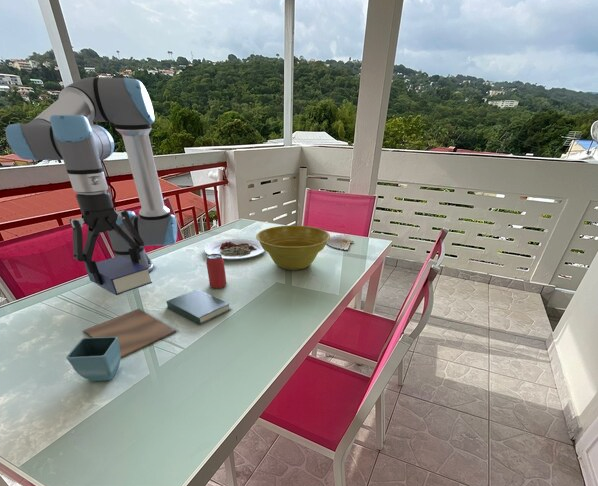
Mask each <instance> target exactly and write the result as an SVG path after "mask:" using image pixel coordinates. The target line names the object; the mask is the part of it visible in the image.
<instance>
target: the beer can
mask: <svg viewBox="0 0 598 486" xmlns="http://www.w3.org/2000/svg"><path fill="white" fill-rule="evenodd" d="M224 260H225V259H223V258H222V255H220V254H210V255H208V254H207V255H206V260H205V263H206V269H207V276H208V277H207V278H208V281H209V286H210V287H211V288H213V289H223V288H224V287H226V286H227V284H228V283H227V276H226V268H225V261H224Z"/></svg>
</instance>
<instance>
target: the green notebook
mask: <svg viewBox="0 0 598 486" xmlns="http://www.w3.org/2000/svg"><path fill="white" fill-rule="evenodd" d="M165 302H166V306H167V308H168V309H169V310H172V311H173V312H174V313H177V314H179V315H181V316H183V317H185V318H187V319H188V320H190V321H192V322H194V323H196V324H197V325H202V324H204V323H206V322H208V321H210V320H212V319H214V318H217V317H218V316H221V315H223V314H225V313H227V312H230V311H231V308H230V302H227V301H225V300H222V299H220V298H219V297H216V296H214V295H212V294H209V293H207V292H204V291H202V290H200V289H198V288H196V289H194V290H191V291H188V292H186V293H184V294H181V295H178V296H176V297H172V298H170V299H169V300H166V301H165Z"/></svg>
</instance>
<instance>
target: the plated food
mask: <svg viewBox="0 0 598 486" xmlns="http://www.w3.org/2000/svg"><path fill="white" fill-rule="evenodd" d="M264 252H266V251H265V250H264V249H263V248H262V246H261V244H260V242H259V241H258V240H257V239H249V238H230V239H229V238H227V239H221V240H217V241H213V242H211V243H209V244H207V245H206V246H205V247H204V253H205V254H206V255H207V256H208V255H210V254H220V255H222V258H223V260H232V261H233V260H245V259H249V258H253V257H257V256H260V255H261V254H263V253H264Z"/></svg>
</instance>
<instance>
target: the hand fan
mask: <svg viewBox="0 0 598 486" xmlns="http://www.w3.org/2000/svg"><path fill="white" fill-rule="evenodd" d="M352 243H354V240H351V239H350V238H349V237H348V236H347V234H345V233H343V234H336V235H330V239H329V240H328V241H327V242H326V245H328V246H329V247H331V248H334V249H337V250H339V249H340V250H345V251H348V250H349V247H350V245H351V244H352Z"/></svg>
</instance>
